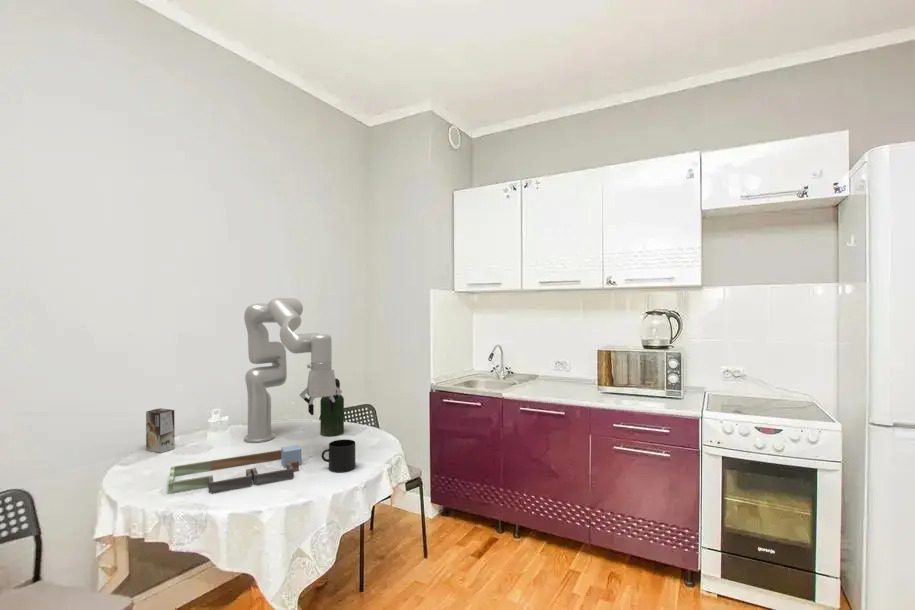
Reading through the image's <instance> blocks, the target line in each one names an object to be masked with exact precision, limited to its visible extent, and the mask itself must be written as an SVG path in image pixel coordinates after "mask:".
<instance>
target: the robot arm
mask: <svg viewBox="0 0 915 610" xmlns="http://www.w3.org/2000/svg"><path fill="white" fill-rule="evenodd" d="M303 311H304V307H303V304H302V302H301V301H300V300H299V299H297V298H293V297H292V298H291V297H290V298H289V297H288V298H287V297H286V298H285V297H284V298H283V297H278V298H273V299H271V300H269V301H268V303H262V302H261V303H253V304H250V305H248V306H247V307H246V308H245V311H244V315H243V317H244V318H243V319H244V325H245V328H246V332H247V351H248V354H247V355H248V360H249V362H250V363H251V364H254V365H262V364H271V365H267V366H258V367H253V368H250V369H249V370H248V371H246V374H245V376H244V377H245V379H244V381H245V385H246V386H245V387H246V391H247V393H246V394H247V435H245V436H244V437H243V441H244V442H246V443H262V442H269V441H271V440H273V439H274V438H275V437H276V434H275V433H274V432H272V396H271V394H270V393H269V392H268V390H267V389H268V388H273V387H275V388H276V387H279V386H282V385H284V384H285V383H286V381H287V379H288V378H287V375H288V374H287V373H288V371H287V351H286V349H287V350H288V351H289V352H290V353H292V354H307V353H310V356H311V357H310V364H309V363H308V364H306V367H307V369H310V370H309V372H308V376H307V386H306V388H305V389H304V390H303V391H302V392H301V393H300V394H299V396H300V398H301V399H302V400H303V401H305V402H306V403H307V405H308V409H307V410H308V411H307V412H308V413H309V414H310V415H311V416H314V412H315V411H314V410H315V409H314V407H315V406H314V403H313V402H314V400H315V398H322V397H329V399H330V401H329V412H331V413H333V410H334V402H335V400H336V399H337V398H338V397H339V395H342V393H343V390H341V388H340V389H339V388H338V387H337V386H336V382H335V378H336V375H335V371H334V369H332V368H333V367H332V366H333V365H332V364H333V363H332V362H333V361H332V357H333V356H332V351H333V350H332V342H333V341H332V336H331V335H329V334H325V333H324V334H321V333H318V332H313V333H312V332H311V333H309V332H308V333H295V331H296V330H297V329H299V327H300V326H301V324H302V317H301V315H302V314H303ZM265 323H266V324H267V323H268V324H269V323H272V324H273V323H275V324H276V323H277V325H278V326H279V327H280V330H279V337H280V341H281V342H280V341H270V337H269V333H270V332H269V330H268V328H267V327H266V325H264V324H265ZM336 391H337V393H336ZM306 394H307V396H309V397H307V396H306Z"/></svg>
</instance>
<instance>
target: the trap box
mask: <svg viewBox="0 0 915 610" xmlns="http://www.w3.org/2000/svg"><path fill="white" fill-rule="evenodd" d="M279 460H281V449H279V450H272V451H265V452H259V453H254V454H253V453H252V454H247V455H245V454H244V455H239V456H232V457H227V458H219V459H214V460H207V461H200V462H194V463H187V464H181V465H173V466H170V470H169V476H168V484H167V485H168V488H167V489H168V493H167V494H168V495H172V494H175V492H177V493H181V492H180V491H183V492H187V491H186V490H188V491H192V490H191V489H194V490H198V488H200V489H204V488H208V494H209V493H211V494H217V493H224V492H228V491H233V490H234V489H235V490H239V489H240V490H241V489H244V488H249V487H251V486H253V485H256V486H261V485H266V484H267V485H268V484H271V483H278V482H282V481H288V480H292V479H293V478H294V473H295V472H299V471H300V466H299V461H295V462H289V463H286V468H284V469H280V470H274V471H269V472H263V473H258V471H257V470H258V469H257V467H254V468H248V469H245V476H240V477H234V478H229V479H222V480H215V481H214V475H205V476H199V477H194V478H188V479H182V480H175V479H176V478H175V477H178V476H179V477H180V476H186V474H187V475H193V474H199V473H205V472H209V471H210V472H211V471H216V470H217V471H218V470H223V469H224V470H225V469H229V468H235V467H241V466H249V465H255V464H260V463H266V462H273V461H279Z"/></svg>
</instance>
